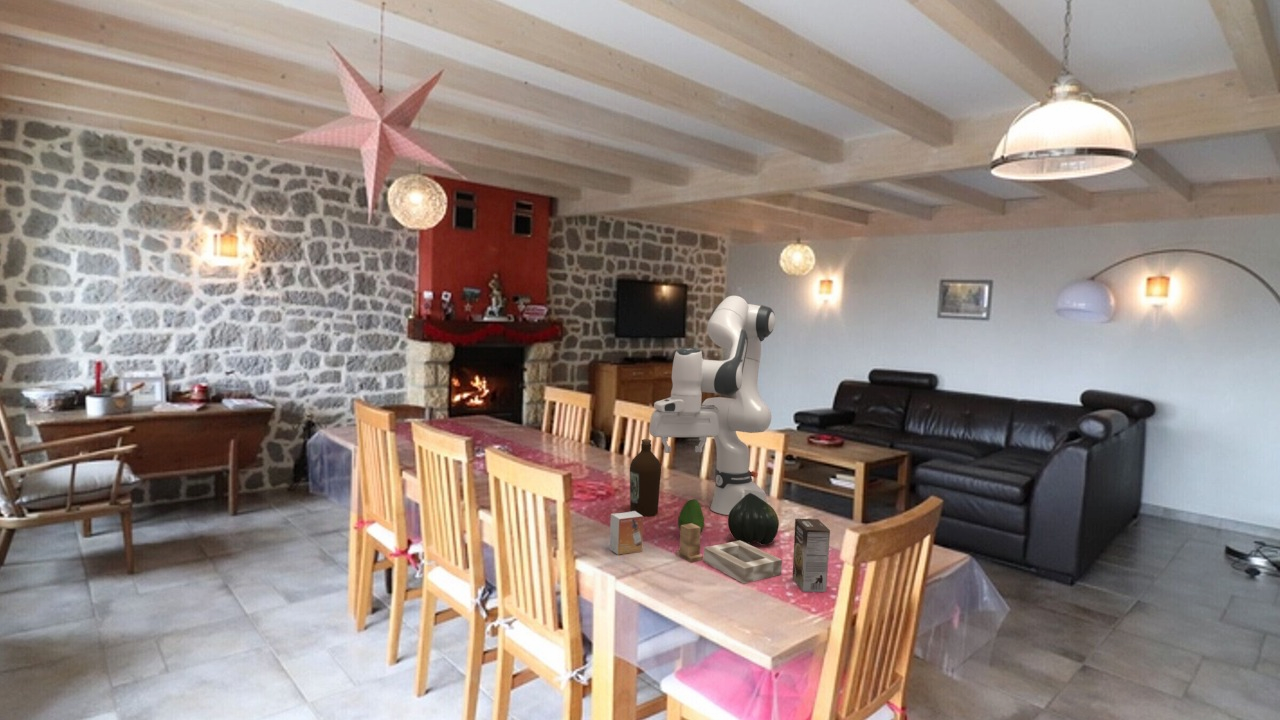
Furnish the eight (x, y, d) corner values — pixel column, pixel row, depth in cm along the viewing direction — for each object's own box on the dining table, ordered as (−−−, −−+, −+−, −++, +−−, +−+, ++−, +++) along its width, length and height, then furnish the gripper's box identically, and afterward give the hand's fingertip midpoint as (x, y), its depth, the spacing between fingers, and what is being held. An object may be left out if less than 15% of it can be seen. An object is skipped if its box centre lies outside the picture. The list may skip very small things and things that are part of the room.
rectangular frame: (739, 553, 198) (740, 540, 198) (781, 574, 184) (782, 559, 183) (703, 561, 191) (703, 547, 191) (743, 583, 177) (744, 568, 176)
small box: (617, 555, 194) (618, 519, 193) (609, 549, 199) (610, 513, 198) (642, 551, 197) (643, 515, 196) (633, 545, 202) (635, 510, 201)
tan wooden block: (687, 552, 198) (688, 521, 197) (702, 560, 192) (703, 528, 191) (676, 554, 196) (677, 523, 195) (691, 562, 190) (692, 530, 189)
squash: (772, 537, 197) (778, 490, 205) (720, 531, 202) (728, 486, 211) (777, 557, 207) (783, 511, 216) (728, 551, 212) (736, 507, 221)
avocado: (705, 535, 213) (707, 497, 212) (701, 543, 205) (702, 504, 204) (680, 532, 215) (681, 494, 214) (674, 540, 208) (676, 501, 207)
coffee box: (791, 577, 182) (794, 518, 180) (815, 577, 182) (818, 518, 181) (802, 592, 172) (805, 529, 171) (827, 592, 173) (830, 529, 172)
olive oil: (652, 506, 241) (654, 436, 239) (664, 515, 231) (667, 442, 229) (623, 509, 237) (625, 437, 235) (635, 518, 227) (637, 443, 225)
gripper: (715, 403, 204) (712, 450, 204) (648, 402, 198) (646, 450, 198) (723, 406, 197) (720, 454, 198) (655, 405, 192) (653, 454, 192)
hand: (683, 452), depth 198 cm, fingers open, 8 cm apart
